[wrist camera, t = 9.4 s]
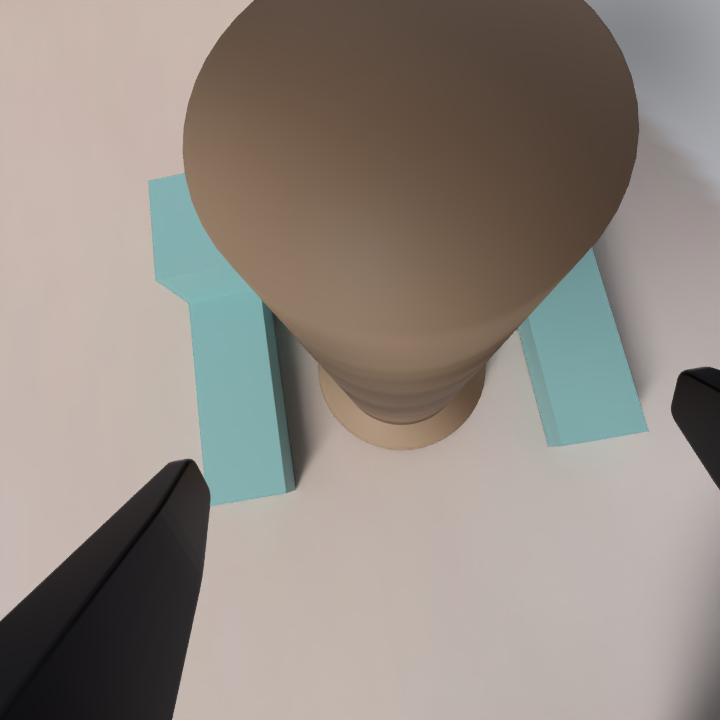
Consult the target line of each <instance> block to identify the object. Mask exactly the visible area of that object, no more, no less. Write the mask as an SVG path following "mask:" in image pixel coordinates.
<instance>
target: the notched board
mask: <svg viewBox="0 0 720 720" xmlns="http://www.w3.org/2000/svg"><path fill="white" fill-rule="evenodd" d="M148 183H149V197H150V211H151V225H152V238H153V252H154V266H155V280H156V281H157V282H159V283H160V284H162V285H163V286H164V287H166V288H167V289H169V290H170V291H172V292H173V293H174V294H176V295H177V296H179V297H180V298H182V299H183V300H184V301H186V302H187V303H189V311H190V322H191V334H192V345H193V356H194V368H195V379H196V390H197V401H198V413H199V424H200V435H201V446H202V458H203V469H204V479H205V481H206V483H207V485H208V487H209V490H210V495H211V501H210V506H214V505H220V504H225V503H231V502H237V501H243V500H249V499H255V498H261V497H266V496H272V495H278V494H284V493H288V492H291V491H294V490H296V488H295V480H294V473H293V465H292V458H291V450H290V443H289V435H288V427H287V420H286V412H285V405H284V397H283V389H282V382H281V374H280V367H279V359H278V352H277V344H276V336H275V329H274V321H273V314H272V311H271V310H270V309H269V307H268V306H267V305H266V304H265V303H264V302H263V301H262V300H261V298H260V297H259V296H258V295H257V294H256V293H255V292H254V291H253V290H252V288H251V287H250V286H249V285H248V284H247V283H246V282H245V281H244V280H243V278H242V277H241V276H240V275H239V274H238V273H237V272H236V271H235V270H234V268H233V267H232V266H231V265H230V264H229V263H228V261H227V260H226V259H225V258H224V257H223V255H222V254H221V253H220V252H219V251H218V250H217V248H216V247H215V245H214V244H213V242H212V241H211V239H210V237H209V236H208V234H207V233H206V231H205V229H204V228H203V226H202V224H201V222H200V220H199V217H198V215H197V213H196V210H195V208H194V206H193V203H192V200H191V197H190V193H189V189H188V185H187V181H186V178H185V173H183V174H179V175H174V176H169V177H165V178H160V179H155V180H150V181H148ZM518 331H519V335H520V339H521V343H522V346H523V350H524V354H525V358H526V362H527V366H528V370H529V373H530V377H531V381H532V385H533V389H534V393H535V397H536V401H537V404H538V408H539V412H540V416H541V420H542V424H543V428H544V432H545V435H546V439H547V443H548V446H565V445H571V444H577V443H582V442H588V441H594V440H600V439H606V438H612V437H618V436H623V435H629V434H635V433H641V432H647V431H649V430H648V427H647V424H646V421H645V417H644V414H643V411H642V408H641V404H640V401H639V398H638V395H637V392H636V388H635V385H634V382H633V379H632V375H631V372H630V369H629V366H628V362H627V359H626V356H625V353H624V350H623V346H622V343H621V340H620V337H619V333H618V330H617V327H616V324H615V321H614V317H613V314H612V311H611V308H610V304H609V301H608V298H607V295H606V291H605V288H604V285H603V282H602V279H601V275H600V272H599V269H598V266H597V262H596V259H595V256H594V253H593V249H592V247H591V248H590V250H589V251H588V252H587V253H586V254H585V255H584V257H583V258H582V259H581V260H580V261H579V262H578V263H577V264H576V265H575V266H574V268H573V269H572V270H571V271H570V272H569V273H568V274H567V275H566V276H565V277H564V278H563V279H562V281H561V282H560V283H559V284H558V285H557V286H556V287H555V288H554V289H553V290H552V291H551V292H550V294H549V295H548V296H547V297H546V298H545V299H544V300H543V301H542V302H541V303H540V304H539V305H538V307H537V308H536V309H535V310H534V311H533V312H532V313H531V314H530V315H529V316H528V317H527V318H526V320H525V321H524V322H523V323H522V324H521V325H520V326H519V327H518Z"/></svg>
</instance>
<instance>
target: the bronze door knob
mask: <svg viewBox="0 0 720 720" xmlns="http://www.w3.org/2000/svg"><path fill="white" fill-rule="evenodd" d="M638 134H639V122H638V104H637V99H636V94H635V89H634V85H633V80H632V76H631V74H630V71H629V68H628V66H627V63H626V61H625V58H624V56H623V53H622V51H621V49H620V48H619V46H618V44H617V43H616V41H615V39H614V37H613V36H612V34H611V32H610V30H609V29H608V28H607V26H606V25H605V24H604V23H603V22H602V20H601V19H600V17H599V16H598V15H597V14H596V12H595V11H594V10H593V9H592V8H591V7H590V6H589V5H588V4H587V3H586V2H585V1H584V0H254V1H253V2H252V3H251V4H250V5H249V6H248V7H247V8H246V9H245V10H244V11H243V12H242V13H241V14H240V15H238V16H237V17H236V19H235V20H234V21H233V22H232V23H231V25H230V26H229V27H228V28H227V29H226V31H225V32H224V33H223V34H222V35H221V37H220V38H219V40H218V41H217V43H216V44H215V46H214V47H213V49H212V50H211V52H210V54H209V55H208V57H207V58H206V60H205V62H204V64H203V67H202V69H201V71H200V73H199V75H198V77H197V79H196V81H195V84H194V87H193V91H192V94H191V97H190V100H189V103H188V107H187V113H186V118H185V124H184V134H183V159H184V169H185V178H186V181H187V185H188V189H189V193H190V197H191V200H192V203H193V206H194V208H195V210H196V213H197V215H198V217H199V220H200V222H201V224H202V226H203V228H204V229H205V231H206V233H207V234H208V236H209V237H210V239H211V241H212V242H213V244H214V245H215V247H216V248H217V250H218V251H219V252H220V253H221V254H222V255H223V257H224V258H225V259H226V260H227V261H228V263H229V264H230V265H231V266H232V267H233V268H234V270H235V271H236V272H237V273H238V274H239V275H240V276H241V277H242V278H243V280H244V281H245V282H246V283H247V284H248V285H249V286H250V287H251V288H252V290H253V291H254V292H255V293H256V294H257V295H258V296H259V297H260V298H261V300H262V301H263V302H264V303H265V304H266V305H267V306H268V307H269V309H270V310H271V311H272V312H273V313H274V314H275V315H276V316H277V317H278V319H279V320H280V321H281V322H282V323H283V324H284V325H285V326H286V327H287V329H288V330H289V331H290V332H291V333H292V334H293V335H294V336H295V337H296V339H297V340H298V341H299V342H300V343H301V344H302V345H303V346H304V348H305V349H306V350H307V351H308V352H309V353H310V354H311V355H312V356H313V358H314V359H315V360H316V361H317V362H318V363H319V364H318V368H319V380H320V386H321V390H322V393H323V396H324V398H325V401H326V403H327V405H328V407H329V408H330V410H331V412H332V413H333V415H334V416H335V417H336V418H337V420H338V421H339V422H340V423H341V424H342V425H343V426H344V427H345V428H346V429H347V430H348V431H350V432H351V433H352V434H354V435H355V436H357V437H358V438H360V439H362V440H364V441H366V442H368V443H370V444H373V445H376V446H379V447H383V448H387V449H395V450H410V449H416V448H422V447H425V446H428V445H431V444H434V443H436V442H438V441H440V440H442V439H444V438H446V437H447V436H449V435H450V434H452V433H453V432H455V431H456V430H457V429H458V428H459V427H460V426H461V425H462V424H463V423H464V422H465V421H466V420H467V419H468V417H469V416H470V415H471V413H472V412H473V410H474V408H475V407H476V405H477V403H478V401H479V398H480V396H481V393H482V389H483V386H484V380H485V363H486V362H487V361H488V360H489V358H490V357H491V356H492V355H493V354H494V353H495V352H496V351H497V350H498V349H499V348H500V347H501V346H502V344H503V343H504V342H505V341H506V340H507V339H508V338H509V337H510V336H511V335H512V334H513V333H514V331H515V330H516V329H517V328H518V327H519V326H520V325H521V324H522V323H523V322H524V321H525V320H526V318H527V317H528V316H529V315H530V314H531V313H532V312H533V311H534V310H535V309H536V308H537V307H538V305H539V304H540V303H541V302H542V301H543V300H544V299H545V298H546V297H547V296H548V295H549V294H550V292H551V291H552V290H553V289H554V288H555V287H556V286H557V285H558V284H559V283H560V282H561V281H562V279H563V278H564V277H565V276H566V275H567V274H568V273H569V272H570V271H571V270H572V269H573V268H574V266H575V265H576V264H577V263H578V262H579V261H580V260H581V259H582V258H583V257H584V255H585V254H586V253H587V252H588V251H589V250H590V248H591V247H592V246H593V245H594V244H595V243H596V241H597V240H598V239H599V238H600V237H601V235H602V234H603V232H604V231H605V229H606V227H607V226H608V224H609V223H610V221H611V220H612V218H613V216H614V215H615V213H616V212H617V210H618V208H619V205H620V203H621V201H622V199H623V196H624V194H625V192H626V189H627V187H628V185H629V182H630V178H631V174H632V170H633V167H634V163H635V159H636V153H637V143H638Z"/></svg>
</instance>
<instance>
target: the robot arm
mask: <svg viewBox="0 0 720 720" xmlns="http://www.w3.org/2000/svg"><path fill="white" fill-rule="evenodd" d="M671 412H672V416H673V419H674V420H675V422H676V424H677V425H678V427H679V428H680V430H681V431H682V433H683V435H684V436H685V438H686V439H687V441H688V442H689V444H690V445H691V447H692V448H693V450H694V452H695V453H696V455H697V456H698V458H699V459H700V461H701V462H702V464H703V465H704V467H705V469H706V470H707V472H708V473H709V475H710V476H711V478H712V479H713V481H714V482H715V484H716V485H717V487H718V488H719V490H720V370H718V369H715V368H711V367H700V368H694V369H688V370H685V371H683V372H681V373H680V375H679V376H678V379H677V383H676V387H675V392H674V396H673V400H672V404H671ZM210 501H211V495H210V490H209V487H208V485H207V483H206V481H205V479H204V477H203V475H202V474H201V472H200V470H199V468H198V466H197V464H196V463H195V461H193V460H192V459H183V460H178V461H173V462H170V463H168V464H167V465H166V466H165V467H164V468H163V469H162V470H161V471H160V472H158V473H157V474H156V475H155V476H154V477H153V478H152V479H151V480H150V481H149V482H148V483H147V484H146V485H145V486H144V487H143V488H141V489H140V490H139V491H138V492H137V493H136V494H135V495H134V496H133V497H132V498H131V499H130V500H129V501H128V502H127V503H126V504H124V505H123V506H122V507H121V508H120V509H119V510H118V511H117V512H116V513H115V514H114V515H113V516H112V517H111V518H110V519H109V520H107V521H106V522H105V523H104V524H103V525H102V526H101V527H100V528H99V529H98V530H97V531H96V532H95V533H94V534H93V535H91V536H90V537H89V538H88V539H87V540H86V541H85V542H84V543H83V544H82V545H81V546H80V547H79V548H78V549H77V550H76V551H74V552H73V553H72V554H71V555H70V556H69V557H68V558H67V559H66V560H65V561H64V562H63V563H62V564H61V565H60V566H59V567H57V568H56V569H55V570H54V571H53V572H52V573H51V574H50V575H49V576H48V577H47V578H46V579H45V580H44V581H43V582H41V583H40V584H39V585H38V586H37V587H36V588H35V589H34V590H33V591H32V592H31V593H30V594H29V595H28V596H27V597H26V598H24V599H23V600H22V601H21V602H20V603H19V604H18V605H17V606H16V607H15V608H14V609H13V610H12V611H11V612H10V613H8V614H7V615H6V616H5V617H4V618H3V619H2V620H1V621H0V720H172V718H173V713H174V709H175V704H176V699H177V695H178V690H179V685H180V681H181V676H182V671H183V667H184V662H185V657H186V653H187V648H188V643H189V639H190V634H191V629H192V624H193V620H194V615H195V610H196V606H197V601H198V596H199V592H200V587H201V581H202V576H203V568H204V560H205V550H206V540H207V530H208V521H209V511H210Z"/></svg>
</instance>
